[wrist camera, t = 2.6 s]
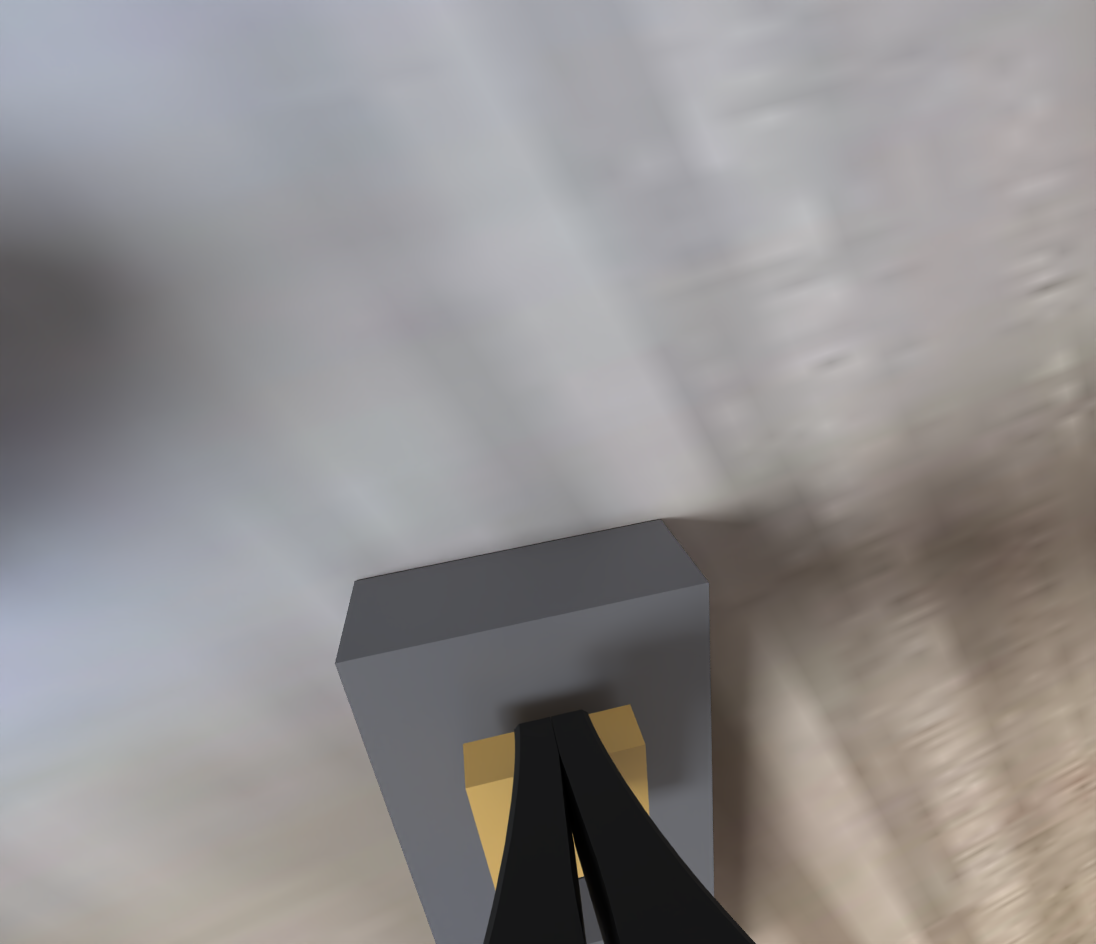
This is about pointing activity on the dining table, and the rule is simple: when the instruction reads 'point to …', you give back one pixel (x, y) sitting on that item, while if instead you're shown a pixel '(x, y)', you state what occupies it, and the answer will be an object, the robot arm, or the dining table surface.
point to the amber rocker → (495, 772)
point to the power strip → (529, 691)
